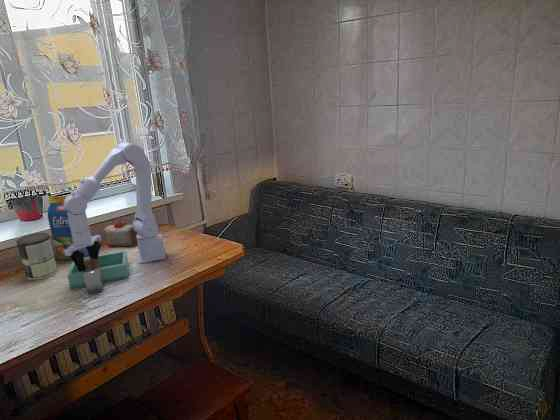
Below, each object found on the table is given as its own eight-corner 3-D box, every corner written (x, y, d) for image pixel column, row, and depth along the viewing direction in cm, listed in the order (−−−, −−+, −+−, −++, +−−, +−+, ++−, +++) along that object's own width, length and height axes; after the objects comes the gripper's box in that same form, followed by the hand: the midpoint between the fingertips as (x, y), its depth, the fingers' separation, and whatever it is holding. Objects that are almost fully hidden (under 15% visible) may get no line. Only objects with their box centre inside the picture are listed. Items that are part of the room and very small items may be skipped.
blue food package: (68, 253, 170) (54, 194, 163) (94, 254, 168) (81, 193, 161) (57, 259, 164) (42, 198, 157) (84, 260, 162) (70, 198, 155)
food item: (104, 247, 175) (99, 225, 172) (115, 240, 182) (111, 218, 179) (133, 248, 171) (129, 225, 168) (143, 241, 179) (139, 219, 176)
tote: (128, 263, 156) (126, 250, 155) (127, 278, 144) (125, 264, 142) (76, 272, 151) (73, 259, 150) (70, 289, 138) (67, 275, 137)
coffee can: (19, 280, 148) (9, 243, 144) (36, 268, 157) (27, 233, 153) (47, 279, 147) (38, 242, 143) (63, 267, 157) (54, 231, 153)
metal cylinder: (104, 285, 139) (100, 266, 137) (103, 292, 135) (99, 272, 133) (88, 288, 138) (83, 269, 136) (86, 295, 133) (81, 275, 131)
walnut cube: (90, 271, 149) (87, 258, 148) (101, 272, 147) (98, 259, 146) (79, 277, 145) (76, 263, 143) (90, 278, 143) (87, 265, 141)
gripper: (72, 238, 133) (81, 277, 137) (105, 223, 146) (112, 259, 150) (56, 237, 136) (65, 275, 140) (89, 222, 149) (96, 258, 153)
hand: (88, 267), depth 145 cm, fingers open, 5 cm apart
